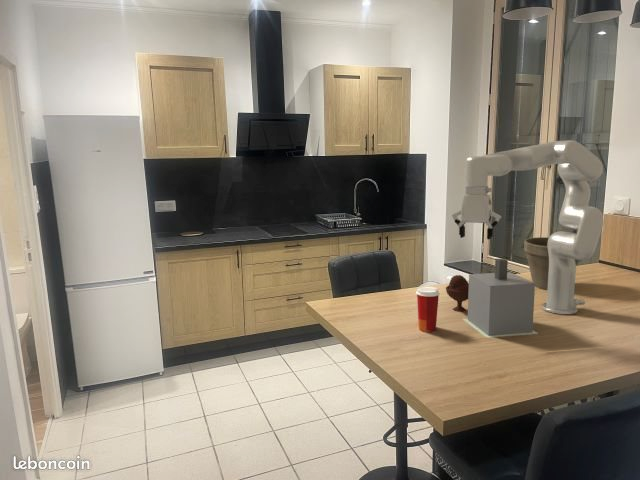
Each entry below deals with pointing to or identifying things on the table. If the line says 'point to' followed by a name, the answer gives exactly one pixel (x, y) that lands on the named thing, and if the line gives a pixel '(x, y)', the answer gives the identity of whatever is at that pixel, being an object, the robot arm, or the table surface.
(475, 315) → the grey knobbed cube
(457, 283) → the ice cream bowl
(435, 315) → the coffee cup
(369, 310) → the table surface
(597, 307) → the table surface
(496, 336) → the mat
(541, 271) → the plant pot
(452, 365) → the table surface
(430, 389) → the table surface
